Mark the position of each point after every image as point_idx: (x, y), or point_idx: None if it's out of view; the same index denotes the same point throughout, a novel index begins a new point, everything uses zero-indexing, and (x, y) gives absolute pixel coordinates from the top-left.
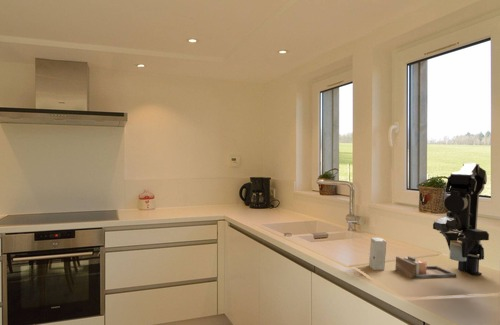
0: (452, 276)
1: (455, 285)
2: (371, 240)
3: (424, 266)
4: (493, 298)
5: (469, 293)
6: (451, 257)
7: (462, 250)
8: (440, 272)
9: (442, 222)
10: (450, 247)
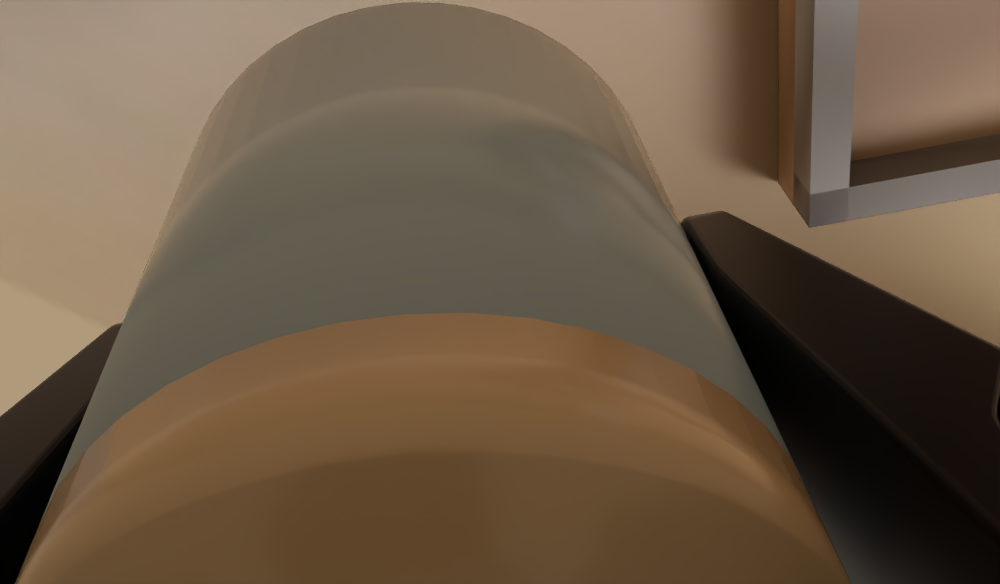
0: (796, 145)
1: (511, 13)
2: None
3: None
4: (12, 264)
5: (138, 28)
6: (375, 30)
7: (8, 465)
8: None
9: None
10: (500, 208)
